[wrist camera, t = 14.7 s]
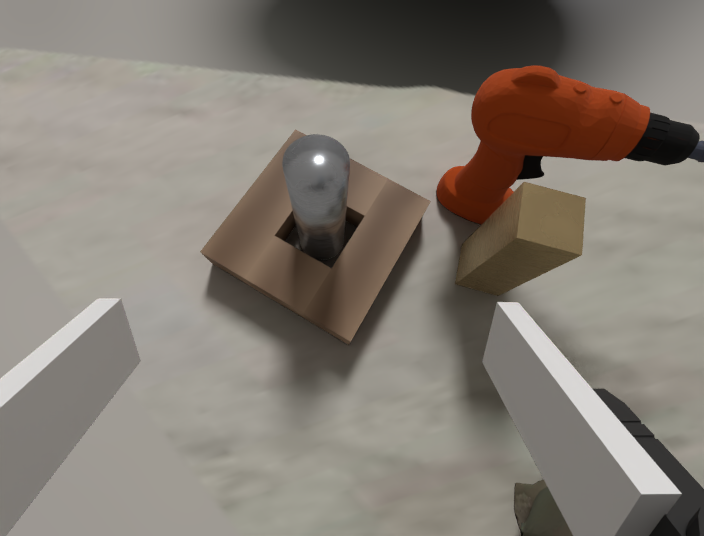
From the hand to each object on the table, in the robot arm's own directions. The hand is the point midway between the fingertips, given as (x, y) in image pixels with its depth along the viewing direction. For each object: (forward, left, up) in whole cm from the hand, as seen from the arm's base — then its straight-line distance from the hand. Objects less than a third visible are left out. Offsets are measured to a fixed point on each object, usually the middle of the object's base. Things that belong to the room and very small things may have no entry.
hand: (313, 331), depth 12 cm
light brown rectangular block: (-8, -14, -17) cm, 24 cm away
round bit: (+6, -9, -17) cm, 20 cm away
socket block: (+6, -9, -17) cm, 20 cm away
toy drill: (-9, -21, -17) cm, 29 cm away
